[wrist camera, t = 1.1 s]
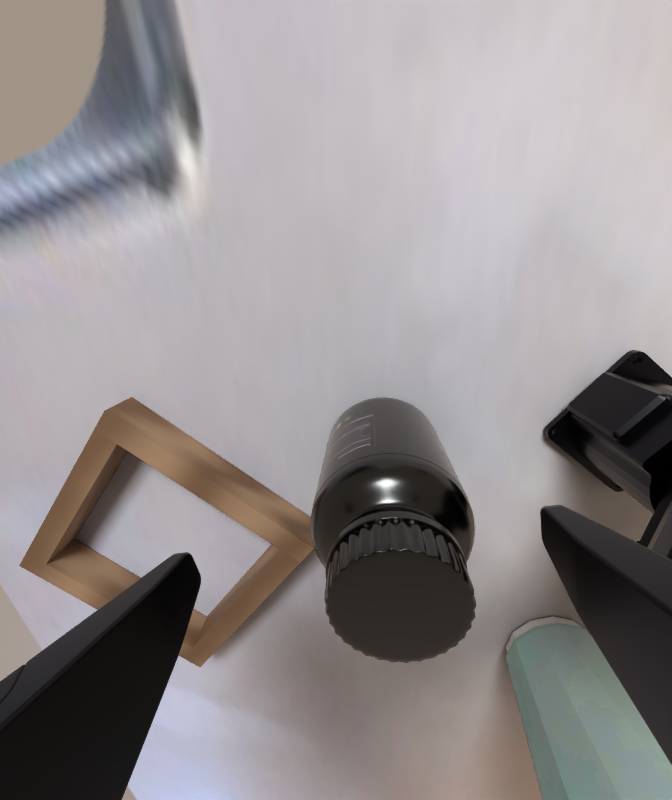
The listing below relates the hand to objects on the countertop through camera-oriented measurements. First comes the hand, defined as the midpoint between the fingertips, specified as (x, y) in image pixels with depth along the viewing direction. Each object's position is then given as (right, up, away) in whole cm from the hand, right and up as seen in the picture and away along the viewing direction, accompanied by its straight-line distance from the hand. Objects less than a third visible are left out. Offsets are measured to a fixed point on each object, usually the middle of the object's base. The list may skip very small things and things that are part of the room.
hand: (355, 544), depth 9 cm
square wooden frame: (-12, -6, +17) cm, 22 cm away
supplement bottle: (+2, +1, +14) cm, 14 cm away
